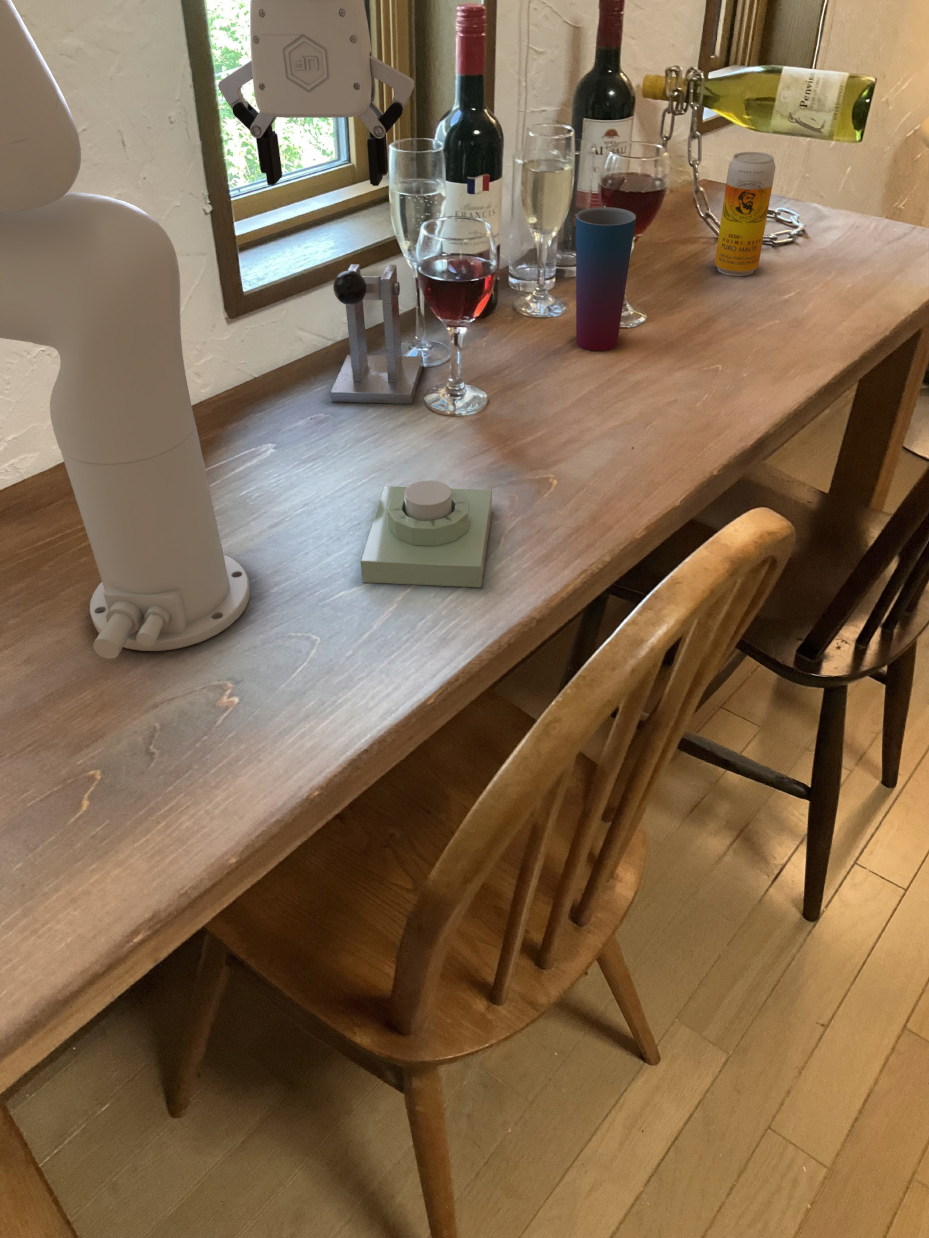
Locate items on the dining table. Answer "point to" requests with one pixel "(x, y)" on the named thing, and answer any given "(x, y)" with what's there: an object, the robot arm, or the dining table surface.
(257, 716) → the dining table surface
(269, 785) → the dining table surface
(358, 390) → the lever bracket
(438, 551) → the block
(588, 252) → the cup
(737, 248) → the beer can
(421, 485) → the beige push button
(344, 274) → the flush lever
